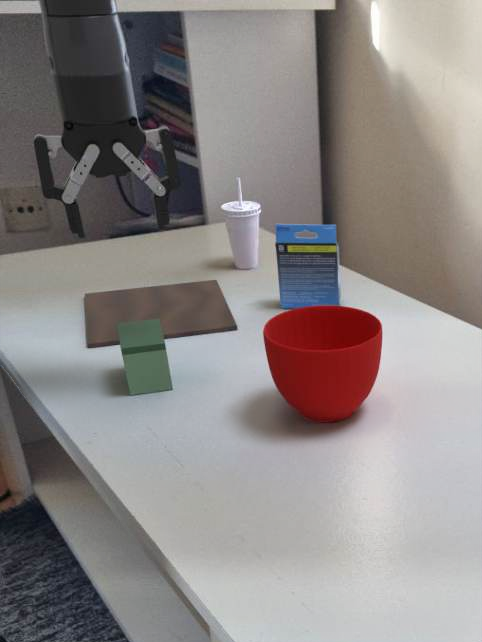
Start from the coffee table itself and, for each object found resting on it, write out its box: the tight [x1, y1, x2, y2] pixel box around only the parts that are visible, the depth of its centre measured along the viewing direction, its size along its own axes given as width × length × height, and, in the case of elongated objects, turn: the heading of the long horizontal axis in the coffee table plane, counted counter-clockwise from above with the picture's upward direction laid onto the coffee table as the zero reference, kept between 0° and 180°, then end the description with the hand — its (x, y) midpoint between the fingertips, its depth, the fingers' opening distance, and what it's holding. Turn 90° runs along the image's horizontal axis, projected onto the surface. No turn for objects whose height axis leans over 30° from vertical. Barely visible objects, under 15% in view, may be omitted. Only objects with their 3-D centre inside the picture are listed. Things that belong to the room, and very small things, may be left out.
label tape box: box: [274, 223, 342, 310], centre depth 116 cm, size 9×4×12 cm, turn 89°
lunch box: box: [118, 319, 174, 396], centre depth 98 cm, size 5×8×6 cm, turn 18°
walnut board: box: [84, 279, 239, 349], centre depth 117 cm, size 20×20×1 cm
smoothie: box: [220, 177, 262, 270], centre depth 131 cm, size 6×6×14 cm
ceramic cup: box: [262, 305, 383, 423], centre depth 91 cm, size 13×17×10 cm
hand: (122, 232), depth 89 cm, fingers open, 8 cm apart
